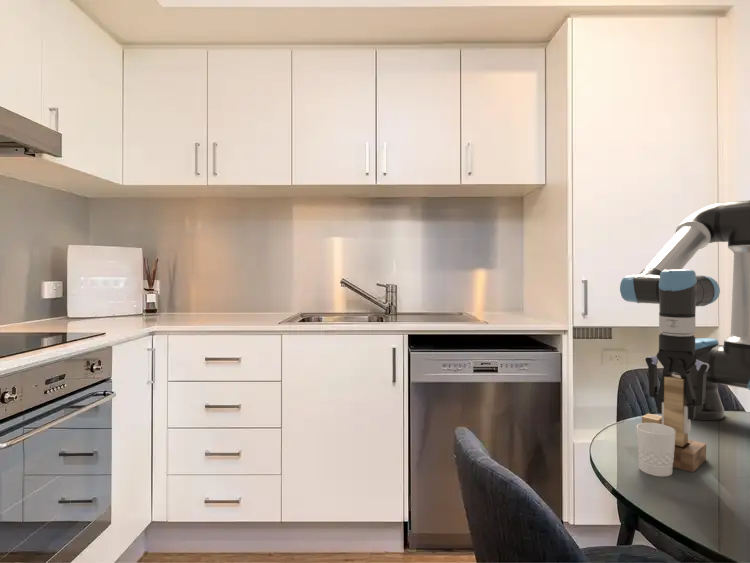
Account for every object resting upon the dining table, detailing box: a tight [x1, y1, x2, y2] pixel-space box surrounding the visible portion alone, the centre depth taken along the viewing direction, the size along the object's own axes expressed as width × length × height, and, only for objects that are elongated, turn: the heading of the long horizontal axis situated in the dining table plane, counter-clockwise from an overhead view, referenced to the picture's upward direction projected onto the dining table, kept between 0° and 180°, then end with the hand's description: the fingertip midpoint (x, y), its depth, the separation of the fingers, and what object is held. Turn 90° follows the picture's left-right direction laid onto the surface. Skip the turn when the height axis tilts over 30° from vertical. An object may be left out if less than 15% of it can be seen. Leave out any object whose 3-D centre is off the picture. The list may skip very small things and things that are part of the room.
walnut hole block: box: [673, 438, 707, 473], centre depth 122 cm, size 10×10×4 cm
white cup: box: [636, 422, 676, 477], centre depth 117 cm, size 8×8×10 cm
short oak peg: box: [641, 413, 662, 424], centre depth 134 cm, size 4×4×7 cm
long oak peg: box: [664, 374, 689, 446], centre depth 122 cm, size 4×4×16 cm
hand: (676, 429), depth 122 cm, fingers closed on long oak peg, 4 cm apart
